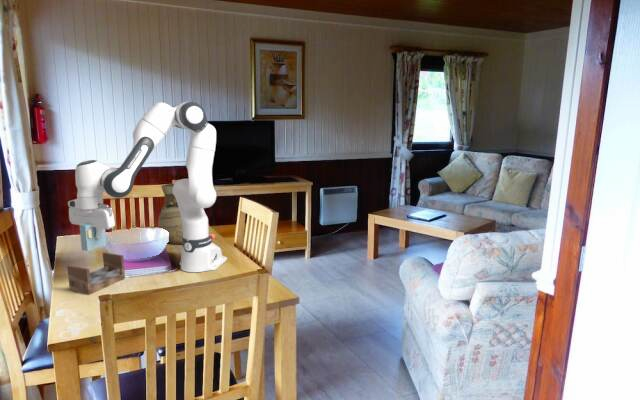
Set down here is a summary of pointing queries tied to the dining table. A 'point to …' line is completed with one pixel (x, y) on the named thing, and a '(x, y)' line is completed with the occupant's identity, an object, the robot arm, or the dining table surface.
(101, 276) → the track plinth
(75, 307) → the dining table surface
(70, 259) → the dining table surface
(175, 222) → the ceramic vessel
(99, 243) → the door panel
